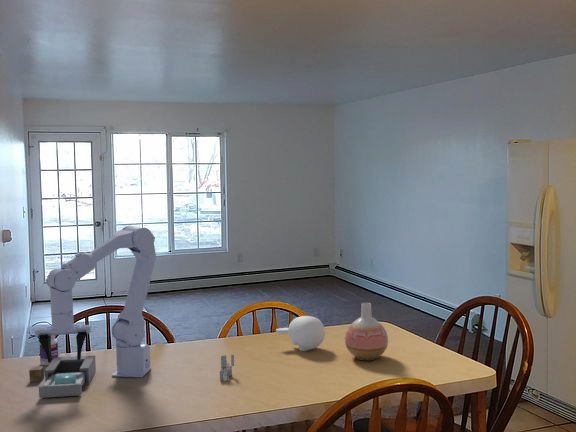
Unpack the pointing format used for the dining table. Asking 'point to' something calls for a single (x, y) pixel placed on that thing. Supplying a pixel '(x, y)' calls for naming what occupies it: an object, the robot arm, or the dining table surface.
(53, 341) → the pill bottle
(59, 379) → the teal rounded dome
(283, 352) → the dining table surface
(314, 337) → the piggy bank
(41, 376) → the brown rectangular block
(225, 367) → the architectural model
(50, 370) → the grey drawer housing
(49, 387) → the tray
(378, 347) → the vase
